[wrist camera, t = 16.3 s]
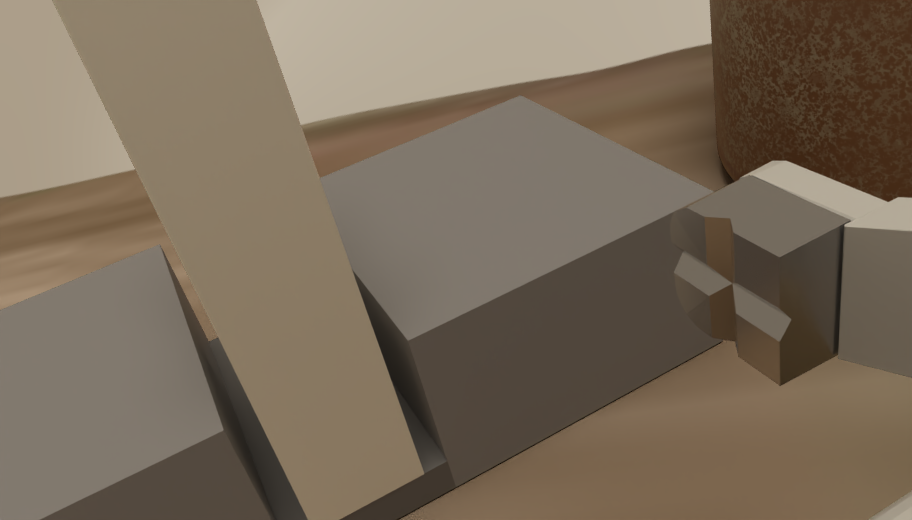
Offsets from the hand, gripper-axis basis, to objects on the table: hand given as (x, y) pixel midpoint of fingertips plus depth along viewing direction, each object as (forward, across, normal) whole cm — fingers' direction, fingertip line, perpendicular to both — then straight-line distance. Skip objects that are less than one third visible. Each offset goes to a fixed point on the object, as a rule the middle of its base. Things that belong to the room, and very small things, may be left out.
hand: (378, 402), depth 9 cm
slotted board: (+12, 0, +10) cm, 16 cm away
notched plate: (+10, 0, +9) cm, 14 cm away
